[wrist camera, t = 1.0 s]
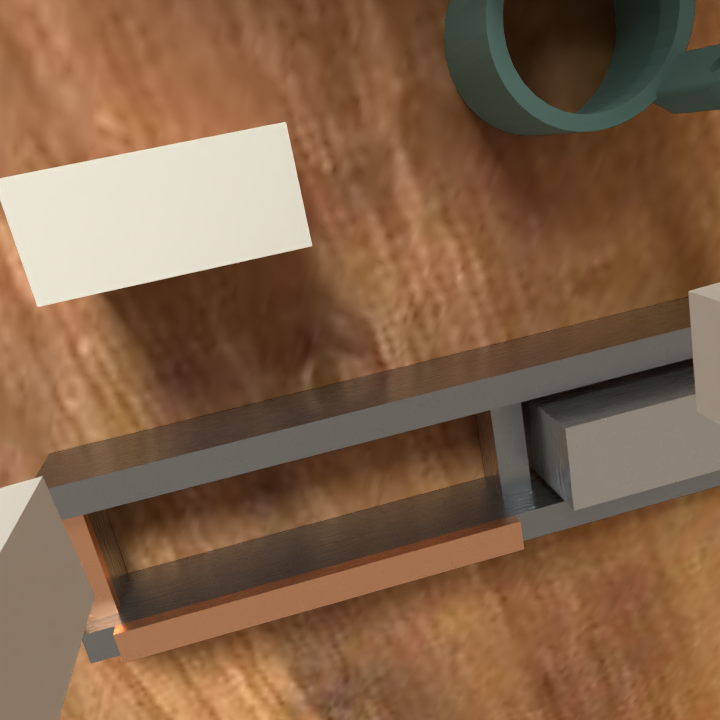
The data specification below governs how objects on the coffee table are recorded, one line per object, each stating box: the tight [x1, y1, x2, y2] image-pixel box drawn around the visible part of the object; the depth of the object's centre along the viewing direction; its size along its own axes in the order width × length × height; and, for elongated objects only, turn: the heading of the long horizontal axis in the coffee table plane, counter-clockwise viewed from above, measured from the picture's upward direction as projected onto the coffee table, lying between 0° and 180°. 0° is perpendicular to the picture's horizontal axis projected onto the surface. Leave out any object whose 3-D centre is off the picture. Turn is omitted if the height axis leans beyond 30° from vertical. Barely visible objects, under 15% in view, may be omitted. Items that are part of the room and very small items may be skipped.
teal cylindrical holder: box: [444, 0, 720, 135], centre depth 26 cm, size 9×9×9 cm
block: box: [0, 122, 312, 307], centre depth 26 cm, size 4×9×8 cm, turn 101°
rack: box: [35, 297, 720, 663], centre depth 32 cm, size 8×35×6 cm, turn 101°
